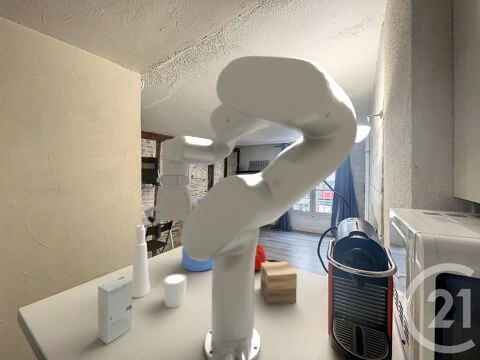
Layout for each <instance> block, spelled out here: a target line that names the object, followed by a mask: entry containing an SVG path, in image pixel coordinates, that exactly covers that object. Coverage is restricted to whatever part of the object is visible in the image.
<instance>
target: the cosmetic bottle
mask: <svg viewBox="0 0 480 360" xmlns="http://www.w3.org/2000/svg"><path fill="white" fill-rule="evenodd" d="M133 245H134V246H133V257H132V259H133V260H132V279H131V280H132V298H134V299H135V298H136V299H138V298H142V297H145V296H147V295H148V294H150V292H151V291H152V290H151V286H150V285H151V284H150V279H149V277H150V276H149V265H148V264H149V263H148V247H147V246H148V244H147V242H146V228H145V224H138V225H136V228H135V243H134V244H133Z"/></svg>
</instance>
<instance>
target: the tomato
mask: <svg viewBox="0 0 480 360" xmlns="http://www.w3.org/2000/svg"><path fill="white" fill-rule="evenodd" d="M261 263H266V254H265V249H264V247H263V246H262V245H261V244H257V248H256V254H255V270H254V271H259V270H260V271H261Z"/></svg>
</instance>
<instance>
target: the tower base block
mask: <svg viewBox="0 0 480 360" xmlns="http://www.w3.org/2000/svg"><path fill="white" fill-rule="evenodd" d="M259 288H260V290H261V293H262V295H263V297H264V298H263V299H264V300H265V302H266V305H268V306H269V305H281V304H294V303H297V288H295V289H281V290H268V289H267V287H266V285H265V283H264V281H263V279H262V277H261V276H260V287H259Z"/></svg>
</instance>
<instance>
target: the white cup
mask: <svg viewBox="0 0 480 360" xmlns="http://www.w3.org/2000/svg"><path fill="white" fill-rule="evenodd" d="M187 279H188V277H187V276H186V275H185V274H182V273H173V274H169V275H167V276H166V277H164V278H163V281H162V283H163V295H164V305H165V306H166V307H168V308H177V307H179V306H181V305H182V304H183V303H185V298H186V288H187Z"/></svg>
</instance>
